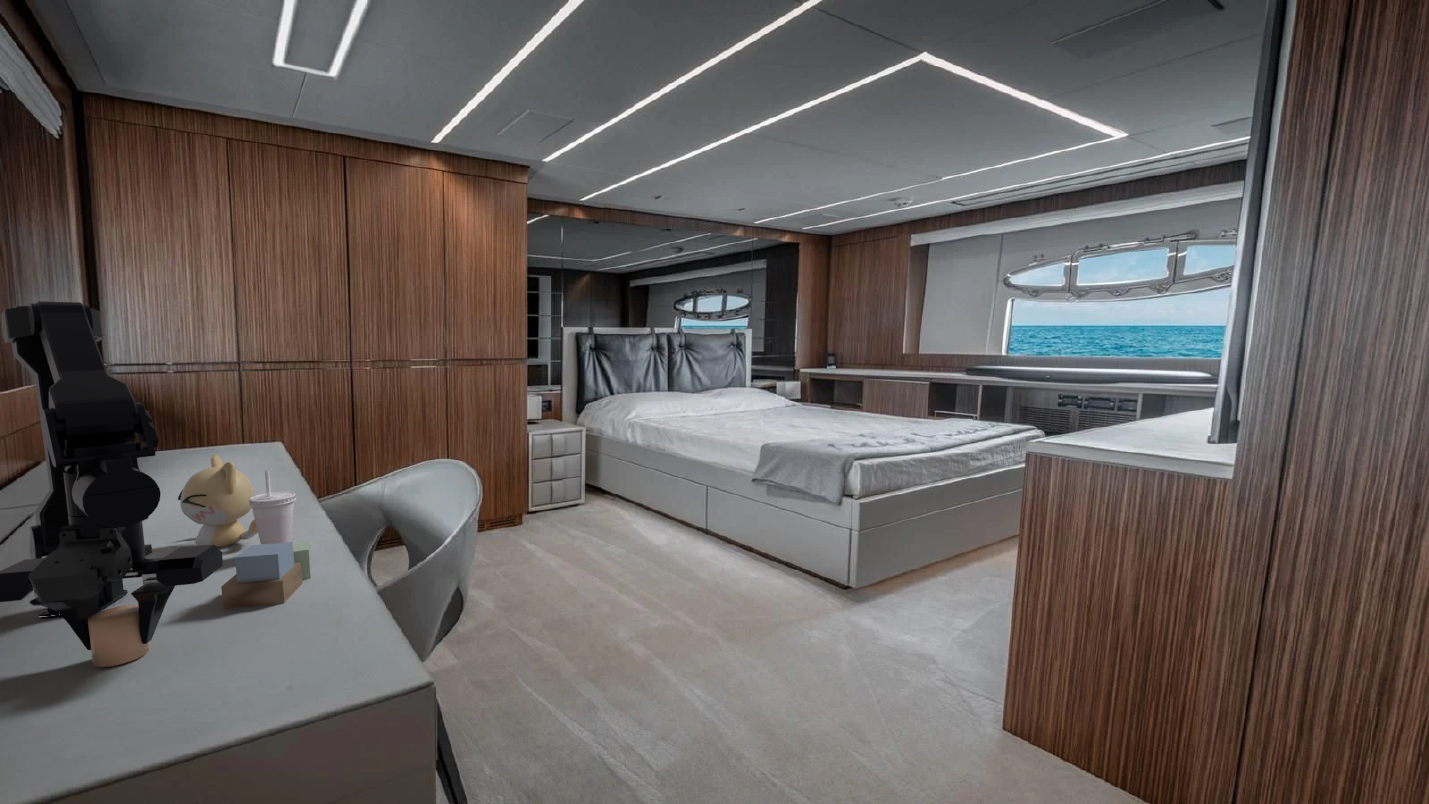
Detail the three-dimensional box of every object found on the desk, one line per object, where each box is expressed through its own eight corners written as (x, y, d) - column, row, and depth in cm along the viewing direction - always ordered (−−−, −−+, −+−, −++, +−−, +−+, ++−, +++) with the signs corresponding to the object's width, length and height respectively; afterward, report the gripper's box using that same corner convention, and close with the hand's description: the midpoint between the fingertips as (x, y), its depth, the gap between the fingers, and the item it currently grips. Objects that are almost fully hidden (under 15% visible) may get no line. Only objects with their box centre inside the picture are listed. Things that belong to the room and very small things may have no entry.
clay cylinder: (82, 669, 68) (77, 625, 67) (109, 649, 72) (104, 607, 72) (134, 663, 69) (129, 619, 69) (157, 643, 74) (153, 602, 73)
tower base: (223, 612, 83) (221, 586, 83) (246, 591, 90) (244, 567, 90) (284, 605, 85) (282, 580, 85) (302, 585, 92) (300, 562, 92)
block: (273, 585, 92) (271, 555, 91) (276, 575, 95) (273, 546, 95) (310, 578, 94) (308, 549, 93) (311, 569, 98) (309, 541, 97)
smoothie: (244, 557, 103) (236, 472, 101) (283, 544, 109) (277, 464, 107) (270, 562, 100) (263, 475, 99) (309, 549, 106) (303, 467, 105)
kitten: (174, 542, 110) (165, 457, 108) (243, 528, 118) (237, 449, 116) (194, 562, 100) (185, 469, 99) (269, 546, 108) (262, 459, 106)
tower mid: (237, 582, 84) (234, 557, 84) (254, 569, 89) (252, 545, 89) (279, 579, 85) (277, 554, 85) (294, 566, 90) (292, 542, 90)
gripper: (-74, 540, 59) (-51, 699, 60) (168, 523, 64) (182, 669, 66) (18, 508, 69) (35, 644, 71) (219, 496, 75) (230, 622, 76)
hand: (120, 645), depth 71 cm, fingers closed on clay cylinder, 5 cm apart
